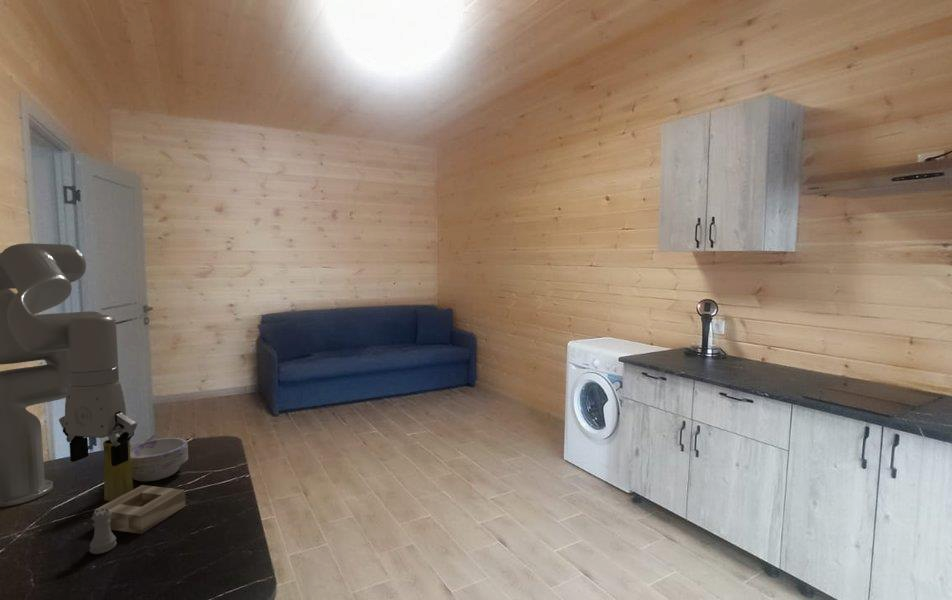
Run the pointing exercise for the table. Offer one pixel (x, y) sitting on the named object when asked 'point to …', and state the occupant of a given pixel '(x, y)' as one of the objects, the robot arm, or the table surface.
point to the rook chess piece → (102, 533)
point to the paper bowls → (157, 458)
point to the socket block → (143, 508)
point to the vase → (116, 475)
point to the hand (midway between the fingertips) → (99, 461)
